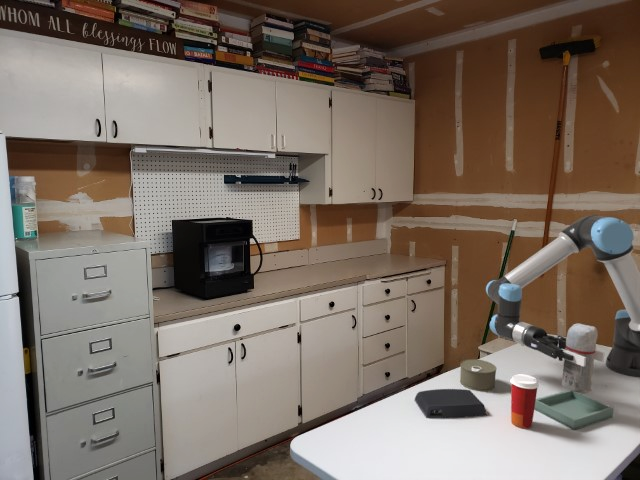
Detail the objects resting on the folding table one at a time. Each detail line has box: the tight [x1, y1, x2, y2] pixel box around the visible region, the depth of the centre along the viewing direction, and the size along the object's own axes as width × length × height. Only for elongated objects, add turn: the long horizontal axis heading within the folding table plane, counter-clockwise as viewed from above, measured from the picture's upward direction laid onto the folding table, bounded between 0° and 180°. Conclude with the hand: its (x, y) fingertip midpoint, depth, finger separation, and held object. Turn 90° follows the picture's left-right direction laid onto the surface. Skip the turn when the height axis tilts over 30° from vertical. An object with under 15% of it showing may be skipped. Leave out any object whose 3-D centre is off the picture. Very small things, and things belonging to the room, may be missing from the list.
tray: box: [534, 389, 614, 431], centre depth 146 cm, size 18×14×3 cm
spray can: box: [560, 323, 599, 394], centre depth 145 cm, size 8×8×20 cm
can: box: [459, 358, 497, 392], centre depth 166 cm, size 12×12×7 cm
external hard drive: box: [414, 388, 488, 419], centre depth 149 cm, size 13×19×4 cm
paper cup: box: [509, 373, 540, 430], centre depth 139 cm, size 8×8×14 cm
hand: (594, 359), depth 140 cm, fingers closed on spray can, 8 cm apart
